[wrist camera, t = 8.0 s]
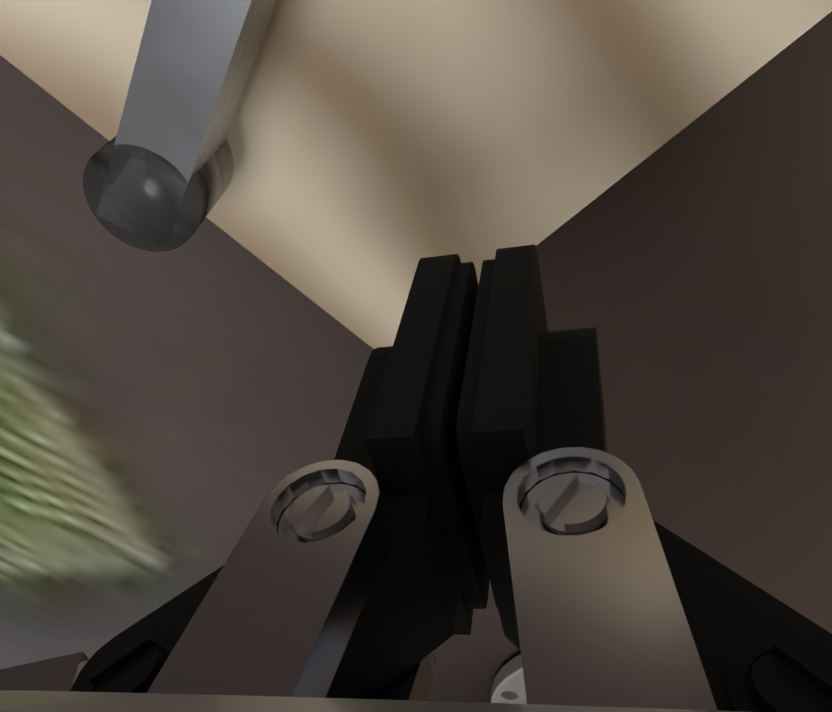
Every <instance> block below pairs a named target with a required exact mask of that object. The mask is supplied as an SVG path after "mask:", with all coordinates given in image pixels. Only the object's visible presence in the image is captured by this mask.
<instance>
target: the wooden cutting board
mask: <svg viewBox="0 0 832 712" xmlns="http://www.w3.org/2000/svg"><path fill="white" fill-rule="evenodd" d="M151 1H152V0H0V55H1V56H2V57H4V58H5V59H6V60H7V61H9V62H10V63H11V64H12V65H14V66H15V67H16V68H18V69H19V70H20V71H21V72H23V73H24V74H25V75H26V76H28V77H29V78H30V79H32V80H33V81H34V82H35V83H37V84H38V85H39V86H40V87H42V88H43V89H44V90H45V91H47V92H48V93H49V94H51V95H52V96H53V97H54V98H56V99H57V100H58V101H59V102H61V103H62V104H63V105H65V106H66V107H67V108H68V109H70V110H71V111H72V112H73V113H75V114H76V115H77V116H78V117H80V118H81V119H82V120H84V121H85V122H86V123H87V124H89V125H90V126H91V127H92V128H94V129H95V130H96V131H98V132H99V133H100V134H101V135H103V136H104V137H105V138H106V139H108V140H109V141H110V140H111V139H113V138H114V137H115V136H116V135H117V132H118V128H119V124H120V120H121V117H122V113H123V109H124V105H125V101H126V97H127V93H128V90H129V86H130V82H131V78H132V74H133V70H134V66H135V62H136V59H137V55H138V51H139V47H140V43H141V39H142V35H143V32H144V28H145V24H146V20H147V16H148V12H149V8H150V5H151ZM831 11H832V0H277V2H276V4H275V7H274V10H273V13H272V15H271V18H270V21H269V24H268V26H267V29H266V32H265V34H264V37H263V40H262V43H261V45H260V48H259V51H258V53H257V56H256V59H255V62H254V64H253V67H252V70H251V73H250V75H249V78H248V81H247V83H246V86H245V89H244V92H243V94H242V97H241V100H240V102H239V105H238V108H237V111H236V113H235V116H234V119H233V122H232V124H231V127H230V130H229V132H228V135H227V138H226V139H227V141H228V143H229V146H230V148H231V151H232V155H233V160H234V172H233V177H232V180H231V183H230V185H229V187H228V188H227V189H226V191H225V192H224V193H223V195H222V196H221V197H220V199H219V200H218V201H217V203H216V204H215V205H214V207H213V208H212V209H211V211H210V212H209V213H208V215H207V216H206V217H207V218H208V219H209V220H210V221H212V222H213V223H214V224H216V225H217V226H218V227H219V228H221V229H222V230H223V231H224V232H226V233H227V234H228V235H230V236H231V237H232V238H233V239H235V240H236V241H237V242H238V243H240V244H241V245H242V246H243V247H245V248H246V249H247V250H249V251H250V252H251V253H252V254H254V255H255V256H256V257H257V258H259V259H260V260H261V261H263V262H264V263H265V264H266V265H268V266H269V267H270V268H271V269H273V270H274V271H275V272H276V273H278V274H279V275H280V276H282V277H283V278H284V279H285V280H287V281H288V282H289V283H290V284H292V285H293V286H294V287H295V288H297V289H298V290H299V291H301V292H302V293H303V294H304V295H306V296H307V297H308V298H309V299H311V300H312V301H313V302H315V303H316V304H317V305H318V306H320V307H321V308H322V309H323V310H325V311H326V312H327V313H328V314H330V315H331V316H332V317H334V318H335V319H336V320H337V321H339V322H340V323H341V324H342V325H344V326H345V327H346V328H348V329H349V330H350V331H351V332H353V333H354V334H355V335H356V336H358V337H359V338H360V339H361V340H363V341H364V342H365V343H367V344H368V345H369V346H370V347H372V348H373V349H375V348H378V347H389V346H393V344H394V341H395V337H396V334H397V331H398V327H399V324H400V321H401V318H402V314H403V311H404V308H405V305H406V301H407V298H408V295H409V291H410V288H411V285H412V282H413V278H414V275H415V272H416V269H417V265H418V262H419V260H420V258H426V257H435V256H443V255H451V254H458V255H459V257H460V260H461V263H466V262H473V263H474V266H475V270H476V274H477V280H478V285H479V281H480V275H481V269H482V263H483V260H491V259H495V255H496V250H497V249H500V248H509V247H517V246H525V245H533V244H535V246H537V245H538V244H539V243H540V242H542V241H543V240H544V239H545V238H547V237H548V236H549V235H550V234H552V233H553V232H554V231H555V230H557V229H558V228H559V227H560V226H562V225H563V224H564V223H566V222H567V221H568V220H569V219H571V218H572V217H573V216H574V215H576V214H577V213H578V212H579V211H581V210H582V209H583V208H584V207H586V206H587V205H588V204H589V203H591V202H592V201H593V200H595V199H596V198H597V197H598V196H600V195H601V194H602V193H603V192H605V191H606V190H607V189H608V188H610V187H611V186H612V185H613V184H615V183H616V182H617V181H618V180H620V179H621V178H622V177H623V176H625V175H626V174H627V173H629V172H630V171H631V170H632V169H634V168H635V167H636V166H637V165H639V164H640V163H641V162H642V161H644V160H645V159H646V158H647V157H649V156H650V155H651V154H652V153H654V152H655V151H656V150H658V149H659V148H660V147H661V146H663V145H664V144H665V143H666V142H668V141H669V140H670V139H671V138H673V137H674V136H675V135H676V134H678V133H679V132H680V131H681V130H683V129H684V128H685V127H687V126H688V125H689V124H690V123H692V122H693V121H694V120H695V119H697V118H698V117H699V116H700V115H702V114H703V113H704V112H705V111H707V110H708V109H709V108H710V107H712V106H713V105H714V104H716V103H717V102H718V101H719V100H721V99H722V98H723V97H724V96H726V95H727V94H728V93H729V92H731V91H732V90H733V89H734V88H736V87H737V86H738V85H739V84H741V83H742V82H743V81H744V80H746V79H747V78H748V77H750V76H751V75H752V74H753V73H755V72H756V71H757V70H758V69H760V68H761V67H762V66H763V65H765V64H766V63H767V62H768V61H770V60H771V59H772V58H773V57H775V56H776V55H777V54H779V53H780V52H781V51H782V50H784V49H785V48H786V47H787V46H789V45H790V44H791V43H792V42H794V41H795V40H796V39H797V38H799V37H800V36H801V35H802V34H804V33H805V32H806V31H808V30H809V29H810V28H811V27H813V26H814V25H815V24H816V23H818V22H819V21H820V20H821V19H823V18H824V17H825V16H826V15H828V14H829V13H830V12H831Z"/></svg>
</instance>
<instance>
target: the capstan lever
mask: <svg viewBox="0 0 832 712" xmlns="http://www.w3.org/2000/svg"><path fill="white" fill-rule="evenodd" d="M276 2H277V0H152V1H151V5H150V8H149V12H148V16H147V20H146V24H145V28H144V32H143V35H142V39H141V43H140V47H139V51H138V55H137V59H136V62H135V66H134V70H133V74H132V78H131V82H130V86H129V90H128V93H127V97H126V101H125V105H124V109H123V113H122V117H121V120H120V124H119V128H118V132H117V135H116V136H115V137H114V138H113V139H111V140H110V141H109V142H108V143H107V144H106V145H105V146H103V147H102V148H101V149H100V150H99V151H98V152H96V153H95V154H94V155H93V156H92V157H91V159H90V160H89V161H88V163H87V165H86V168H85V171H84V176H83V188H84V193H85V197H86V200H87V202H88V205H89V207H90V209H91V211H92V212H93V214H94V215H95V217H96V218H97V220H98V221H99V222H100V223H101V224H102V225H103V226H104V227H105V228H106V229H107V230H108V231H109V232H110V233H111V234H112V235H114V236H115V237H117V238H118V239H120V240H121V241H123V242H125V243H127V244H129V245H131V246H133V247H136V248H139V249H142V250H147V251H155V252H160V251H169V250H172V249H175V248H178V247H180V246H181V245H183V244H184V243H186V242H187V241H188V240H189V239H190V237H191V236H192V235H193V233H194V232H195V231H196V229H197V228H198V227H199V225H200V224H201V223H202V221H203V220H204V219H205V217H206V216H207V215H208V213H209V212H210V211H211V209H212V208H213V207H214V205H215V204H216V203H217V201H218V200H219V199H220V197H221V196H222V195H223V193H224V192H225V191H226V189H227V188H228V187H229V185H230V183H231V180H232V177H233V172H234V160H233V155H232V151H231V148H230V146H229V143H228V141H227V139H226V138H227V135H228V132H229V130H230V127H231V124H232V122H233V119H234V116H235V113H236V111H237V108H238V105H239V102H240V100H241V97H242V94H243V92H244V89H245V86H246V83H247V81H248V78H249V75H250V73H251V70H252V67H253V64H254V62H255V59H256V56H257V53H258V51H259V48H260V45H261V43H262V40H263V37H264V34H265V32H266V29H267V26H268V24H269V21H270V18H271V15H272V13H273V10H274V7H275V4H276Z"/></svg>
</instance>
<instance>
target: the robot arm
mask: <svg viewBox="0 0 832 712" xmlns="http://www.w3.org/2000/svg"><path fill="white" fill-rule="evenodd" d="M489 579H490V583H491V587H492V591H493V595H494V599H495V603H496V606H497V608H498V610H499V614H500V618H501V622H502V627H503V631H504V635H505V636H506V637H507V638H508V639H509V640H510V641H511V642H512V643H513V644H514V645H515V646H516V647H518V648H519V649H520V650H521V654H520V655H518V656H516V657H514V658H513V659H512V660H510V661H509V662H508V663H507V664H505V665H504V666H503V667H502V668H501V669H500V671H499V672H498V674H497V675H496V676H495V678H494V681H493V685H492V688H491V703H481V702H448V701H426V700H427V697H428V693H429V690H430V687H431V683H432V680H433V677H434V671H435V664H436V658H435V653H434V650H435V649H436V648H437V647H439V646H440V645H441V644H442V643H444V642H445V641H446V640H447V639H449V638H450V637H451V636H452V635H453V634H463V635H470V634H471V624H472V615H473V609H485V608H486V606H487V601H488V590H489ZM0 712H832V634H831V633H829V632H828V631H826V630H825V629H823V628H821V627H820V626H818V625H817V624H815V623H814V622H812V621H810V620H809V619H807V618H806V617H804V616H803V615H801V614H799V613H798V612H796V611H795V610H793V609H792V608H790V607H788V606H787V605H785V604H784V603H782V602H781V601H779V600H777V599H776V598H774V597H773V596H771V595H770V594H768V593H766V592H765V591H763V590H762V589H760V588H759V587H757V586H756V585H754V584H752V583H751V582H749V581H748V580H746V579H745V578H743V577H741V576H740V575H738V574H737V573H735V572H734V571H732V570H730V569H729V568H727V567H726V566H724V565H723V564H721V563H719V562H718V561H716V560H715V559H713V558H712V557H710V556H708V555H707V554H705V553H704V552H702V551H701V550H699V549H697V548H696V547H694V546H693V545H691V544H690V543H688V542H686V541H685V540H683V539H682V538H680V537H679V536H677V535H676V534H674V533H672V532H671V531H669V530H668V529H666V528H665V527H663V526H661V525H660V524H658V523H657V522H655V521H654V520H653V519H652V516H651V513H650V510H649V507H648V504H647V501H646V498H645V495H644V493H643V490H642V487H641V484H640V482H639V480H638V478H637V477H636V475H635V473H634V472H633V470H632V469H631V468H630V467H629V466H628V465H626V464H625V463H624V462H623V461H621V460H620V459H619V458H618V457H615V456H613V455H611V454H608V453H607V447H606V434H605V421H604V409H603V397H602V386H601V375H600V365H599V354H598V344H597V334H596V327H594V328H583V329H572V330H561V331H551V332H548V328H547V321H546V313H545V306H544V299H543V292H542V285H541V278H540V270H539V263H538V256H537V251H536V246H535V244H533V245H525V246H517V247H509V248H500V249H497V250H496V255H495V259H491V260H483V263H482V269H481V275H480V281H479V285H478V280H477V274H476V270H475V266H474V263H473V262H466V263H461V260H460V257H459V255H458V254H451V255H443V256H435V257H426V258H420V260H419V262H418V265H417V269H416V272H415V275H414V278H413V282H412V285H411V288H410V291H409V295H408V298H407V301H406V305H405V308H404V311H403V314H402V318H401V321H400V324H399V327H398V331H397V334H396V337H395V341H394V344H393V346H389V347H378V348H375V349H373V351H372V353H371V354H370V357H369V360H368V362H367V365H366V368H365V371H364V374H363V377H362V380H361V383H360V386H359V389H358V392H357V395H356V398H355V401H354V403H353V406H352V409H351V412H350V415H349V418H348V421H347V424H346V427H345V430H344V433H343V436H342V439H341V441H340V444H339V447H338V450H337V453H336V456H335V459H334V460H329V461H321V462H318V463H314V464H311V465H307V466H305V467H303V468H301V469H299V470H297V471H295V472H293V473H291V474H289V475H288V476H286V477H285V478H284V479H283V480H281V481H280V482H279V483H278V484H276V485H275V486H274V487H273V488H272V490H271V491H270V492H269V493H268V495H267V496H266V497H265V498H264V500H263V501H262V503H261V505H260V506H259V508H258V510H257V511H256V513H255V515H254V516H253V518H252V520H251V521H250V523H249V525H248V526H247V528H246V530H245V531H244V533H243V535H242V536H241V538H240V539H239V541H238V543H237V544H236V546H235V548H234V549H233V551H232V553H231V554H230V556H229V558H228V559H227V561H226V563H225V564H224V566H222V567H220V568H219V569H217V570H216V571H214V572H213V573H211V574H210V575H208V576H207V577H205V578H204V579H202V580H201V581H199V582H198V583H196V584H195V585H193V586H192V587H190V588H188V589H187V590H185V591H184V592H182V593H181V594H179V595H178V596H176V597H175V598H173V599H172V600H170V601H169V602H167V603H166V604H164V605H163V606H161V607H160V608H158V609H156V610H155V611H153V612H152V613H150V614H149V615H147V616H146V617H144V618H143V619H141V620H140V621H138V622H137V623H135V624H134V625H132V626H131V627H129V628H128V629H126V630H124V631H123V632H121V633H120V634H118V635H117V636H115V637H114V638H113V639H111V640H110V641H109V642H108V643H106V644H105V645H104V646H103V647H101V648H100V649H99V650H98V651H97V652H96V653H95V654H94V655H93V656H92V657H91V658H90V660H89V659H88V658H87V656H86V655H85V654H84V652H79V653H74V654H70V655H65V656H60V657H56V658H51V659H47V660H42V661H37V662H33V663H28V664H23V665H19V666H14V667H9V668H5V669H0Z"/></svg>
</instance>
